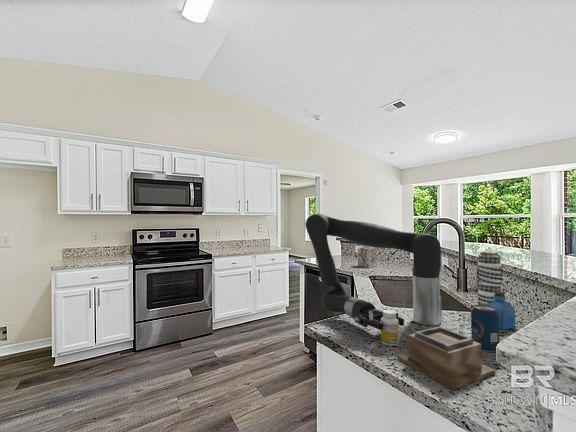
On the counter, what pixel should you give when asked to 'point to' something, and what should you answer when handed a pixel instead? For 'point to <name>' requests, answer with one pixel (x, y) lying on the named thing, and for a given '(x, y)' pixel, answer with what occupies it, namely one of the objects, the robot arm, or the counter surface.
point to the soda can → (485, 327)
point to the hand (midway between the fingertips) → (393, 324)
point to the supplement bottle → (390, 328)
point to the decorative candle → (488, 276)
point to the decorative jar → (367, 256)
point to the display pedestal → (446, 357)
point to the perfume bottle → (503, 310)
